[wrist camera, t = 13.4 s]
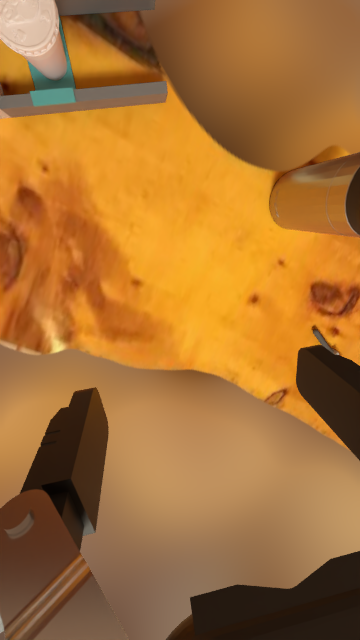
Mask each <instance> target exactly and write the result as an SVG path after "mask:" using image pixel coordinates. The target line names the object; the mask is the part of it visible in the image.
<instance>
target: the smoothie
mask: <svg viewBox="0 0 360 640" xmlns="http://www.w3.org/2000/svg"><path fill="white" fill-rule="evenodd" d="M0 39H1V40H2V41H3V42H4V43H5V44H6V45H7V46H8V47H9V48H11V49H12V50H14V51H15V52H17V53H19V54H21V55H22V56H24V57H25V58H26V59H27V60H28V61H29V62H30V63H31V64H32V65H33V66H34V67H35V68H36V69H37V70H38V71H40V72H41V73H42V74H43V75H44V76H45V77H46V78H48V79H50V80H60V79H61V78H63V77H64V75H65V74H66V71H67V61H66V56H65V52H64V48H63V44H62V40H61V35H60V31H59V16H58V9H57V6H56V3H55V0H0Z"/></svg>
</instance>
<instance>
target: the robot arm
mask: <svg viewBox="0 0 360 640" xmlns="http://www.w3.org/2000/svg"><path fill="white" fill-rule="evenodd" d="M270 212H271V215H272V217H273V219H274V221H275V222H276V223H277V224H278V225H279V226H281V227H282V228H285V229H291V230H299V231H307V232H315V233H324V234H332V235H341V236H351V237H359V238H360V152H359V153H356V154H352V155H348V156H344V157H340V158H337V159H333V160H329V161H325V162H321V163H318V164H314V165H310V166H306V167H302V168H299V169H295V170H292V171H289V172H288V173H286V174H285V175H283V176H282V177H281V178H280V179H279V180H278V182H277V183H276V185H275V186H274V188H273V190H272V193H271V197H270ZM296 384H297V387H298V390H299V392H300V394H301V395H302V396H303V398H304V399H305V400H306V401H307V402H308V403H309V404H310V405H311V406H312V408H313V409H314V410H315V411H316V412H317V413H318V414H319V415H320V417H321V418H322V419H323V420H324V421H325V422H326V423H327V424H328V426H329V427H330V428H331V429H332V430H333V431H334V432H335V433H336V435H337V436H338V437H339V438H340V439H341V440H342V441H343V442H344V444H345V445H346V446H347V447H348V448H349V449H350V450H351V451H352V452H353V454H354V455H355V456H356V457H357V458H358V459H359V460H360V366H359V365H357V364H356V363H355V362H353V361H352V360H349V359H347V358H344V357H342V356H339V355H337V354H336V355H335V354H333V353H332V352H331V351H329V350H328V349H327V348H325V347H324V346H322V345H315V346H310V347H305V348H301V349H300V350H299V352H298V361H297V374H296ZM107 441H108V421H107V417H106V414H105V411H104V408H103V405H102V402H101V398H100V395H99V392H98V390H97V388H90V389H85V390H80V391H75V392H74V393H73V396H72V399H71V402H70V404H69V407H66V408H61V409H60V410H59V411H58V412H57V414H56V415H55V416H54V417H53V418H52V419H51V420H50V423H49V425H48V428H47V430H46V432H45V436H44V437H43V440H42V442H41V447H39V449H38V451H37V454H36V456H35V459H34V461H33V463H32V466H31V468H30V470H29V473H28V475H27V478H26V480H25V482H24V485H23V488H22V490H21V492H20V494H19V495H17V496H15V497H14V498H12V499H11V500H9V501H8V502H7V503H6V504H5V505H4V506H2V508H0V633H1V632H3V631H4V632H5V640H129V639H128V637H127V635H126V633H125V631H124V629H123V628H122V626H121V624H120V622H119V621H118V619H117V617H116V615H115V613H114V611H113V610H112V608H111V606H110V604H109V602H108V601H107V599H106V597H105V595H104V593H103V592H102V590H101V588H100V586H99V584H98V583H97V581H96V579H95V577H94V575H93V574H92V572H91V570H90V568H89V566H88V565H87V563H86V561H85V560H84V558H83V556H82V555H81V553H80V548H81V542H82V536H84V535H88V534H92V533H95V530H96V524H97V516H98V508H99V501H100V494H101V486H102V478H103V471H104V464H105V456H106V448H107ZM190 601H191V609H192V614H191V615H190V616H189V617H187V618H186V619H185V620H184V621H182V622H181V623H180V624H179V625H178V626H177V627H176V628H175V629H174V630H173V631H172V632H171V634H170V635H169V636H168V638H167V639H166V640H360V551H358V552H354V553H351V554H347V555H344V556H340V557H336V558H333V559H330V560H329V561H327V562H326V563H325V564H324V565H323V566H321V567H320V568H319V569H317V570H316V571H315V572H313V573H312V574H311V575H310V576H308V577H307V578H306V579H305V580H303V581H302V582H301V583H299V584H298V585H297V586H295V587H294V588H291V589H281V588H270V587H259V586H247V585H234V586H230V587H227V588H223V589H220V590H216V591H212V592H209V593H205V594H201V595H198V596H194V597H191V598H190Z"/></svg>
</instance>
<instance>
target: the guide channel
mask: <svg viewBox="0 0 360 640" xmlns="http://www.w3.org/2000/svg"><path fill="white" fill-rule="evenodd" d="M55 3H56V6H57V9H58V16H59V31H60V35H61V40H62V44H63V48H64V52H65V56H66V61H67V71H66V74H65V75H64V77H63V78H61V79H60V80H50V79H48V78H46V77H45V76H44V75H43V74H42V73H41V72H40V71H38V70H37V69H36V68H35V67H34V66H33V65H32V64H31V63H30V62H29V61H28V60H27V61H28V64H29V68H30V71H31V75H32V79H33V82H34V86H35V90H36V91H30V94H19V95H8V96H4V92H3V89H2V86H1V83H0V119H1V118H11V117H21V116H31V115H42V114H52V113H62V112H72V111H82V110H92V109H103V108H113V107H123V106H133V105H143V104H153V103H163V102H165V101H166V97H167V84H166V81H162V82H151V83H140V84H129V85H118V86H107V87H96V88H85V89H76V86H75V82H74V78H73V73H72V69H71V64H70V60H69V55H68V51H67V47H66V42H65V38H64V33H63V29H62V24H61V20H60V16H63V15H78V14H93V13H108V12H123V11H139V10H154V8H155V0H55Z"/></svg>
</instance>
